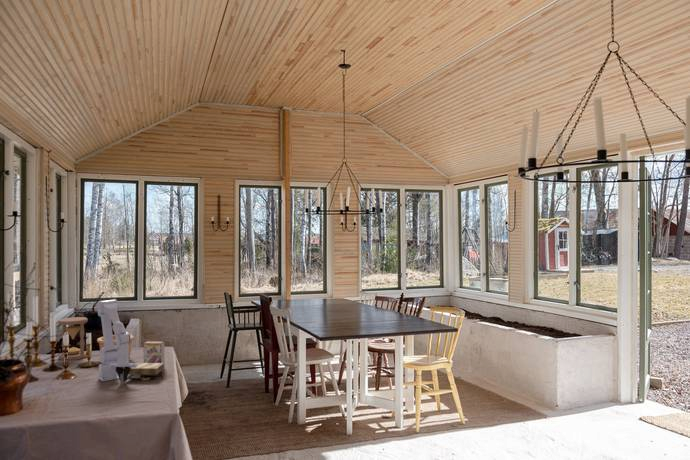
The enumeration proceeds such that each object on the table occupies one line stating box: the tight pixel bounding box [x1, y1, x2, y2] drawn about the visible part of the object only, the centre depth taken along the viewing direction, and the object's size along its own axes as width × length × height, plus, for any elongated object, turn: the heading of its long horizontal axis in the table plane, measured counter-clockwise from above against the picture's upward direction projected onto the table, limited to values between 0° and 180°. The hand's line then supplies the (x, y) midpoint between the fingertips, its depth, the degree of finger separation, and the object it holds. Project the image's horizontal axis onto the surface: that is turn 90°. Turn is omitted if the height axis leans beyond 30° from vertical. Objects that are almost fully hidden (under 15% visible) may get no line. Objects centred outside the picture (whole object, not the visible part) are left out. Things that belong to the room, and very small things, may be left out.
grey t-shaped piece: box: [119, 373, 142, 386], centre depth 308 cm, size 8×15×6 cm, turn 177°
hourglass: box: [57, 316, 89, 361], centre depth 367 cm, size 18×18×25 cm
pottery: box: [96, 334, 135, 360], centre depth 358 cm, size 22×22×14 cm
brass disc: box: [140, 376, 151, 381], centre depth 313 cm, size 5×5×1 cm
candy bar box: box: [143, 340, 166, 369], centre depth 333 cm, size 11×5×16 cm, turn 84°
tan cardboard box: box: [128, 362, 166, 377], centre depth 315 cm, size 17×12×7 cm
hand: (123, 380), depth 303 cm, fingers closed on grey t-shaped piece
